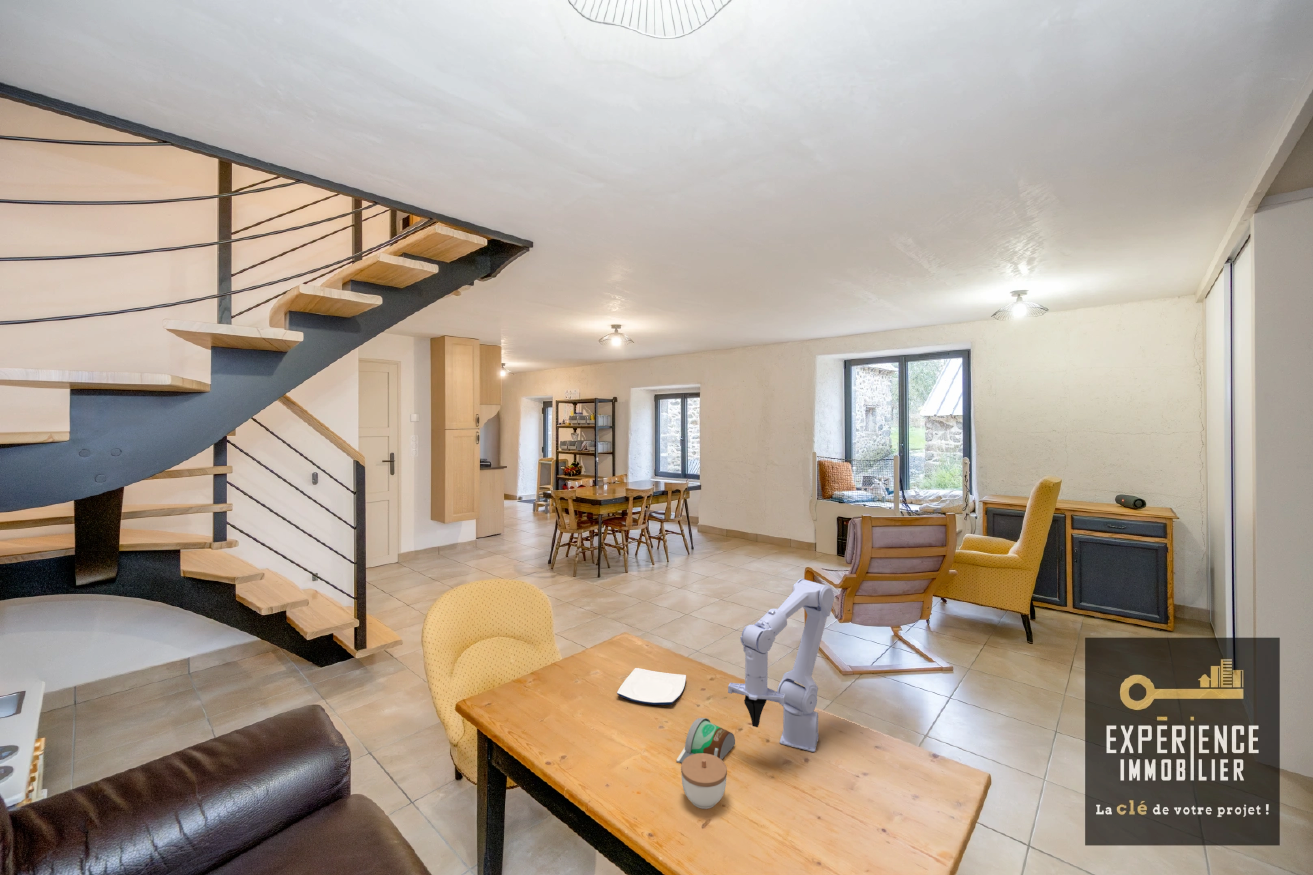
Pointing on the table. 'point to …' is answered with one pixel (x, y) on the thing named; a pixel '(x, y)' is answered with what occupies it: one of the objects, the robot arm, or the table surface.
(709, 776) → the lidded jar
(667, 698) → the plate
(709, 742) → the food container
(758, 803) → the table surface
